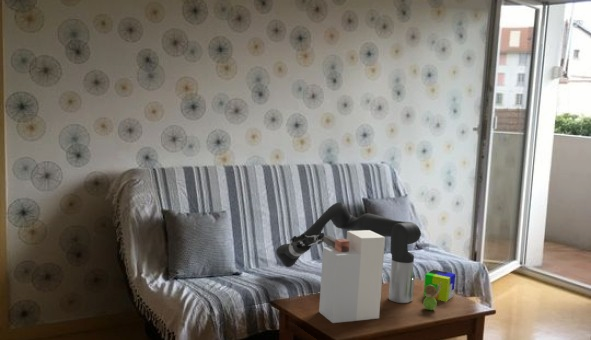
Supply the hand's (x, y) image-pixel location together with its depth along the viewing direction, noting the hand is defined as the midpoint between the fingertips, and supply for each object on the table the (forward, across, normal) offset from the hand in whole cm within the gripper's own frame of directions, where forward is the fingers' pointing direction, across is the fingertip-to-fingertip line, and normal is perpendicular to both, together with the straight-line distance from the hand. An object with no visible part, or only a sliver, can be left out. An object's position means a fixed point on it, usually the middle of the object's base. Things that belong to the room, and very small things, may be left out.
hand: (314, 235), depth 259 cm
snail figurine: (+11, -41, -37) cm, 56 cm away
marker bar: (+17, 0, -10) cm, 19 cm away
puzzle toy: (-1, -55, -30) cm, 63 cm away
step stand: (+9, -5, -35) cm, 37 cm away
